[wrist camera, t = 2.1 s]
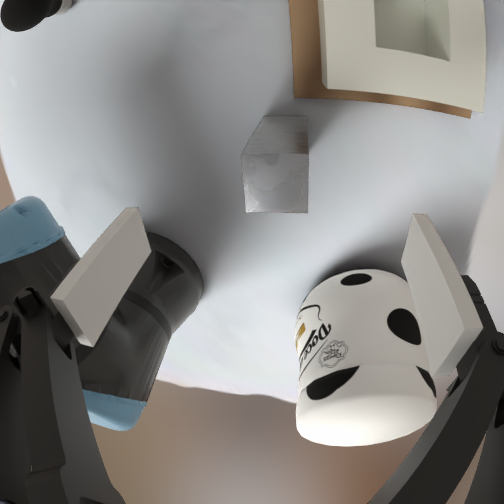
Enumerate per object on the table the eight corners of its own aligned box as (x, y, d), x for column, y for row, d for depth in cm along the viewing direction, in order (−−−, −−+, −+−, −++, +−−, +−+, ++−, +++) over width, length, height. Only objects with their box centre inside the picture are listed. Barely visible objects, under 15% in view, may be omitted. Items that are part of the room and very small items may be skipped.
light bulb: (89, 15, 21) (24, 17, 13) (54, 33, 22) (-9, 44, 14) (86, -25, 17) (24, -31, 9) (51, -4, 18) (-10, -1, 10)
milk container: (274, 284, 40) (254, 412, 25) (400, 236, 32) (444, 368, 18) (324, 352, 47) (321, 454, 33) (424, 321, 40) (447, 427, 26)
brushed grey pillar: (266, 154, 29) (246, 211, 20) (263, 116, 27) (240, 154, 17) (306, 154, 29) (307, 213, 19) (305, 116, 26) (308, 154, 17)
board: (294, 96, 25) (294, 97, 24) (283, -52, 16) (282, -56, 15) (465, 116, 22) (470, 118, 21) (462, -22, 13) (468, -23, 12)
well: (321, 82, 23) (327, 88, 18) (313, -44, 15) (315, -67, 10) (451, 99, 21) (482, 113, 16) (448, -19, 13) (478, -30, 8)
